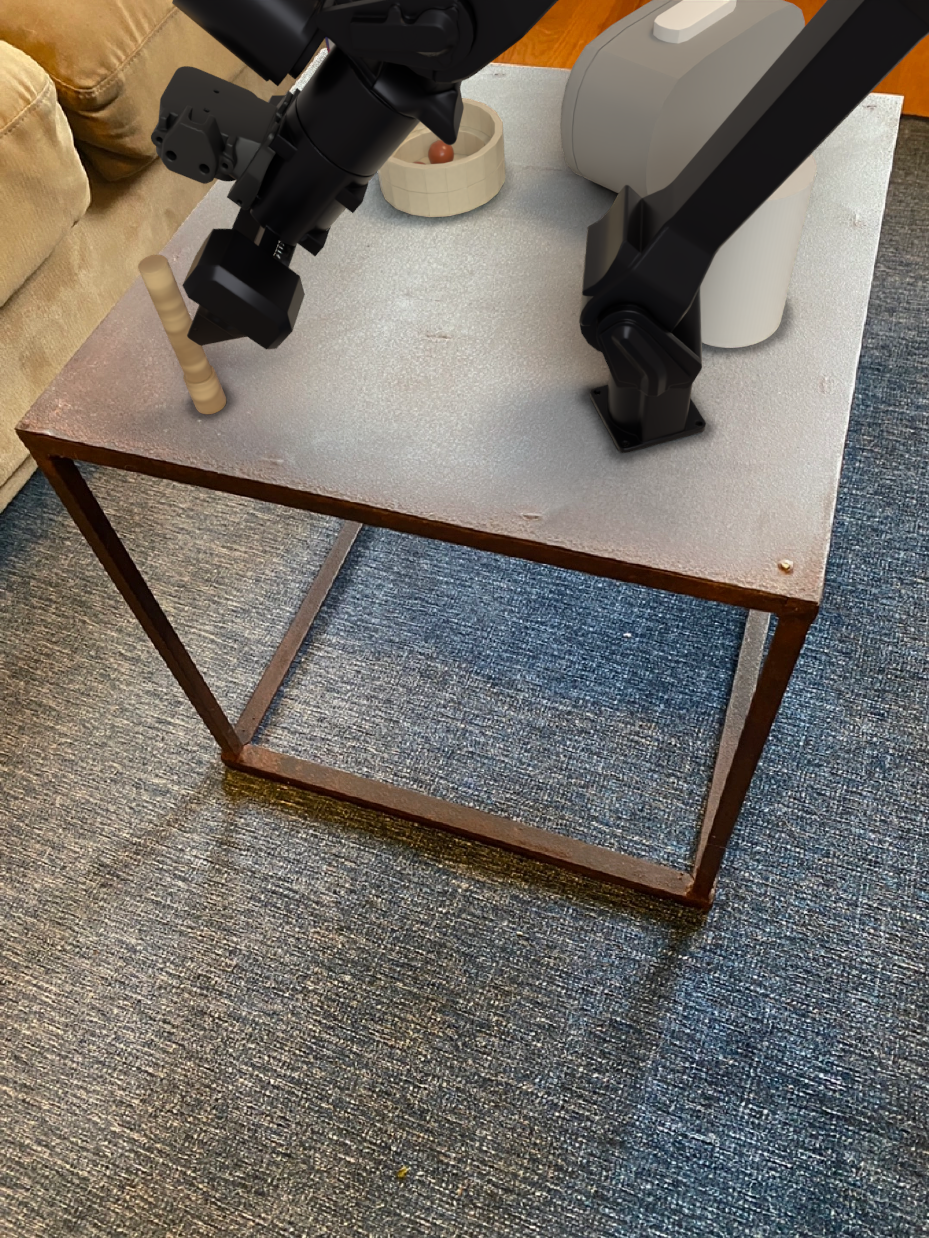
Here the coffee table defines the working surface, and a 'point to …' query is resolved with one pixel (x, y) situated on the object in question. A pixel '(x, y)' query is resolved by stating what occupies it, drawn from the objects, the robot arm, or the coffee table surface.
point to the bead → (440, 153)
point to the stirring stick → (182, 334)
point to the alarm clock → (666, 85)
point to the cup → (756, 267)
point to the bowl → (448, 167)
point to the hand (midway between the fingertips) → (213, 294)
